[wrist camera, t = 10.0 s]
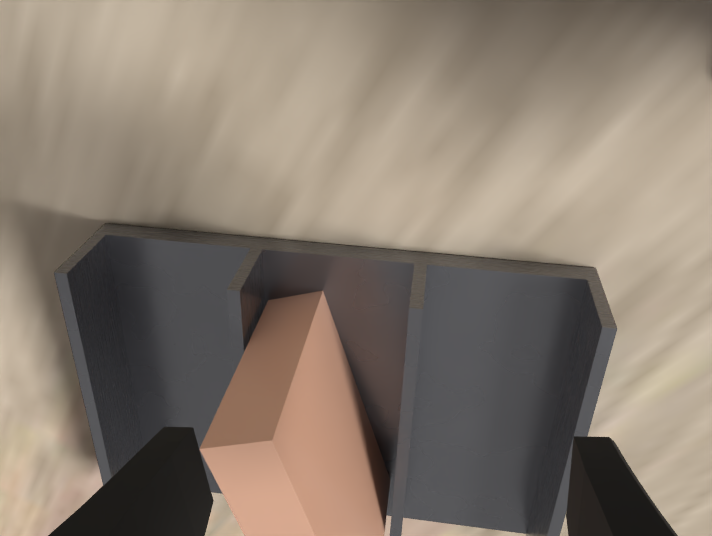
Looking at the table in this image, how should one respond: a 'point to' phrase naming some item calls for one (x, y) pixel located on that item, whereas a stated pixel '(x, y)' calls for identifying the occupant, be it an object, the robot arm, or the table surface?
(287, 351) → the upright salmon slab
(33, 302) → the table surface
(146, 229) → the rack
